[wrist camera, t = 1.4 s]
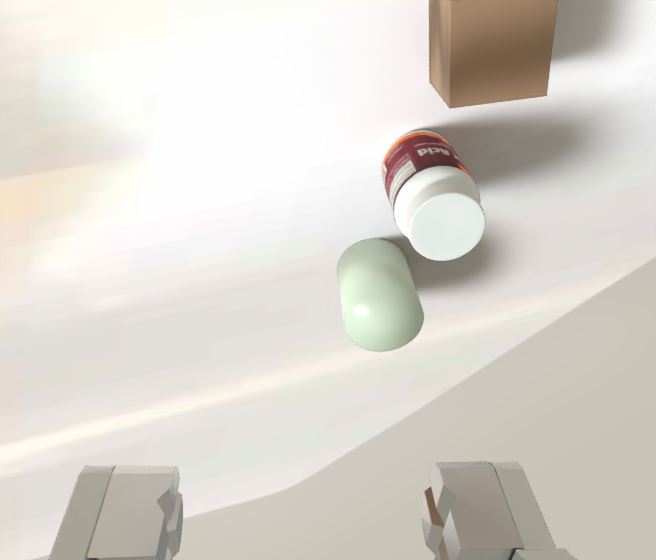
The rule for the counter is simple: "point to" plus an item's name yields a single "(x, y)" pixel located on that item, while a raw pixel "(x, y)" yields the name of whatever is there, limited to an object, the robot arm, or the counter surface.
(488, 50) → the walnut cube
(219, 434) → the counter surface
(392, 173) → the pill bottle
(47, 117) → the counter surface
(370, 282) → the sage cylinder
